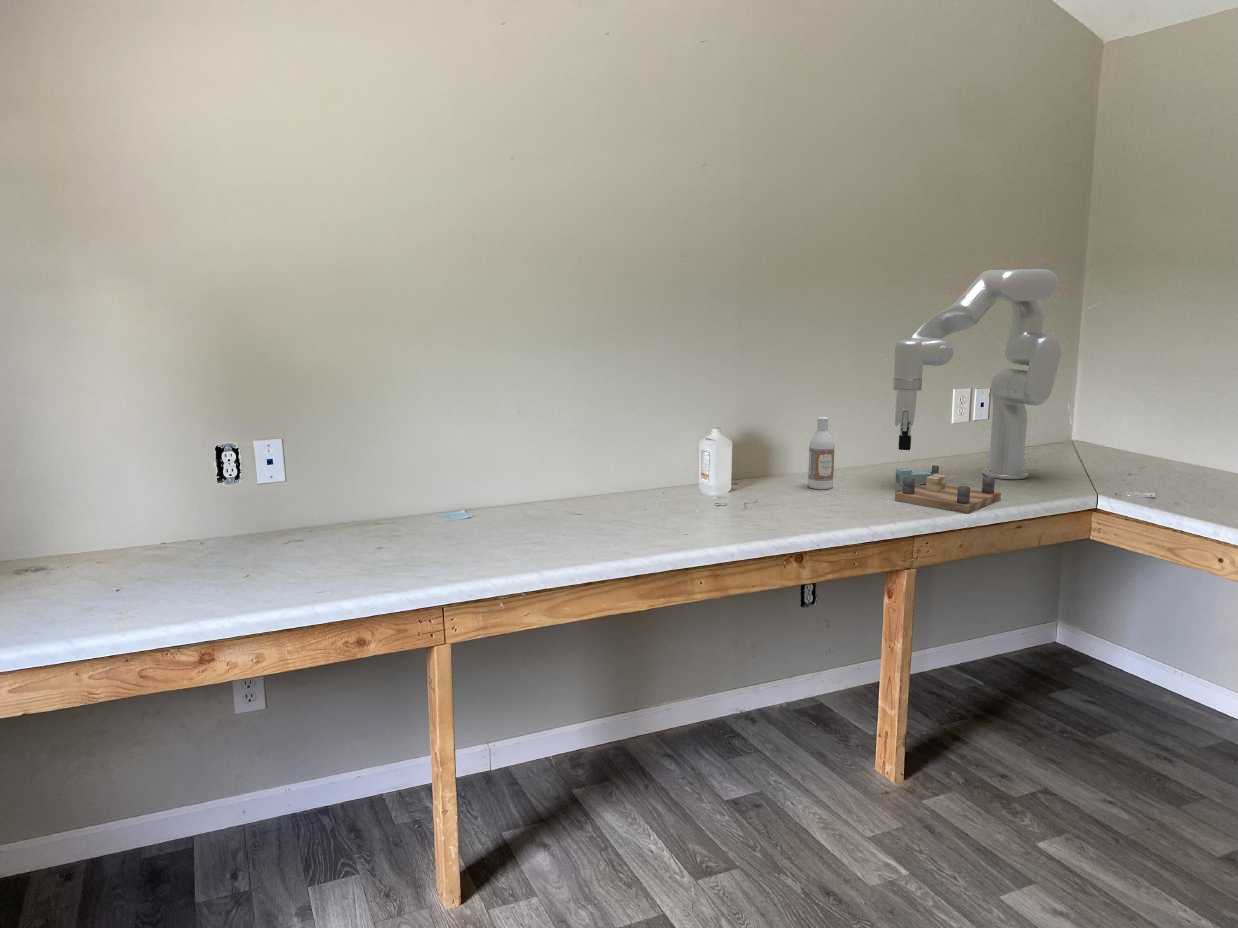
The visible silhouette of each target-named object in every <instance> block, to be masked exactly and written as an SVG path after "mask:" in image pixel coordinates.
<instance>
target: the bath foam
mask: <svg viewBox="0 0 1238 928" xmlns="http://www.w3.org/2000/svg"><path fill="white" fill-rule="evenodd" d="M816 426H817V430H816V431H815V432H814V434H813V435H812V437H811V439H810V442H809V446H808V447H809V448H808V473H807V474H808V475H807V476H808V477H807V486H808V487H809V488H810V489H815V490H830V489H832V488H833V487H834V472H835V471H834V470H835V442H834V438H833V437H832V436H833V435H832V434H830V432H829V430H828V429H829V417H826V416H818V417H817V424H816Z"/></svg>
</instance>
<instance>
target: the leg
mask: <svg viewBox="0 0 1238 928" xmlns="http://www.w3.org/2000/svg"><path fill="white" fill-rule="evenodd" d="M933 475H935V474H933ZM937 475H943V476H944V474H943V473H939V474H937ZM929 476H932V470H928V471H913V470H912V469H909V468H908V467H902V468H895V484H897V485H899V486H903V478H904V477H912V478H915V485H920V484H926V480H927V477H929Z"/></svg>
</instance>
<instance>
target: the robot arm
mask: <svg viewBox="0 0 1238 928" xmlns="http://www.w3.org/2000/svg"><path fill="white" fill-rule="evenodd" d="M1058 289H1059V278H1058V276H1057V274H1056V273H1055V272H1054V271H1052V270H1050V269H1044V268H1043V269H1042V268H1040V269H1039V268H1038V269H1037V268H1035V269H1033V268H1032V269H1029V268H1026V269H1024V268H1021V269H1020V268H1019V269H989V270H986V271H985V270H984V271H983V272H981V273H980V274H979V275H978V276H977V277H976V278H975V279H974V280H973V282H972V283H970V285H969V286H968V287H967V288H966V289H965V291H964V292H963V293H962V294H961V295H960V296H959V297H958V298H957V300H956V301H954V302H953V303H952V305H950V306H949V307H947V308H945V309H944V310H942V311H940V312H939V313H937V314H936V315H934V316H932V317H931V318H929V319H928V320H926V321H925V322H924V323H922V325H920V326H919V327H918V328H917V329H916V330H915V332H913V334H912V335H911V337H910V338H909V339H901V340H898V341H896V342H895V346H894V347H895V348H894V365H893V367H894V369H893V386H892V387H893V388H892V389H893V391H895V392H896V398H895V410H894V411H895V413H894V415H895V416H894V426H895V427H898V425H899V436H898V450H899V451H910V450H911V447H912V435H911V432H912V431H911V430H912V426H914V422H915V418H916V412H917V411H916V410H917V398H918V397H917V395H918V392H921V391H922V389H923V388H922V387H923V371H924V370H923V366H933V367H940V366H941V367H942V366H944V365H946V364H948V363H949V362H950V361H951V360H952V358H953V356H954V348H953V345H952V344H951V343H950V342H949V341H948V340H946V339H944V338H946V337H947V336H949V335H952V334H954V333H957V332H961V331H965V330H968V329H970V328H972V327H974V326H976V325H978V323H979V322H980V320H981V319H983V317H984V316H985V315H986V314H987V313H988V312H989V311H990V310H991V308H992V307H993V306H994V305H995V304H996V303H997V302H998V301H999V302H1000V301H1002V302H1005V301H1006V302H1009V303H1010V306H1011V309H1012V319H1011V324H1010V327H1009V332H1008V336H1007V340H1006V344H1005V349H1004V357H1005V359H1006V360H1007V361H1008V363H1011V364H1012V365H1013V364H1014V365H1017V366H1024V367H1025V366H1026V367H1028V370H1026V369H1019V368H1005V369H1001V370H999V371H997V372H996V374H994V376H993V377H992V380H991V383H990V384H991V385H990V393H991V398H992V400H991V401H992V417H991V418H992V419H991V420H992V421H991V430H990V431H991V432H990V442H989V443H990V444H989V445H990V446H989V456H988V457H989V458H988V467H985V468H984V469H982V474H983V475H984V476H989V477H994V478H995V479H1002V480H1021V479H1022V480H1023V479H1027V478H1028V477H1029V472H1028V471H1027V470H1025V469H1024V465H1025V464H1026V462H1027V461H1026V459H1025V452H1026V451H1025V450H1026V440H1027V439H1026V436H1027V427H1028V426H1027V425H1028V412H1027V409H1026V408H1027V407H1026V405H1028V406H1033V407H1034V406H1040V405H1043V404H1044V403H1046V402H1047V401H1048V399H1049V398H1050V396H1051V395H1052V391H1053V389H1054V384H1055V381H1056V376H1057V373H1058V369H1059V366H1060V361H1061V355H1062V350H1061V344H1060V342H1059V340H1058V339H1057V338H1056V337H1055V336H1054V335H1052V334H1049V333H1043V327H1044V323H1045V314H1046V313H1045V310H1044V306H1043V304H1042V302H1041V301H1045V300H1048V299H1051V298H1052V297H1053V296H1054V295H1055V294H1056V293H1057V290H1058Z"/></svg>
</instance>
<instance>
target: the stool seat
mask: <svg viewBox="0 0 1238 928" xmlns="http://www.w3.org/2000/svg"><path fill="white" fill-rule="evenodd" d="M939 470H940V465H933V464H932V465H931V471H932V476H929V477H927V480H926V484H915V478H912V477H904V478H903V485H902V490H901V491H898V492H895V494H894V501H895V502H902V503H907V504H912V505H918V506H923V507H929V508H934V509H940V510H946V511H949V512H950V511H951V512H952V511H953V512H957V513H961V514H971V513H973V512H975V511H977V510H979V509H982V508H984V507H987V506H988V505H991V504H993V503H996V502H998V501H1000V500H1001V498H1002V491H996V490H995V484H996V483H995V482H996V478H994V477H989V476H986V475H984V476H982V485H981V488H977V487H970V486H967V485H959V484H953V483H946V475H944V474H943V475H937V474H940V471H939ZM933 474H935V475H933Z"/></svg>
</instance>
